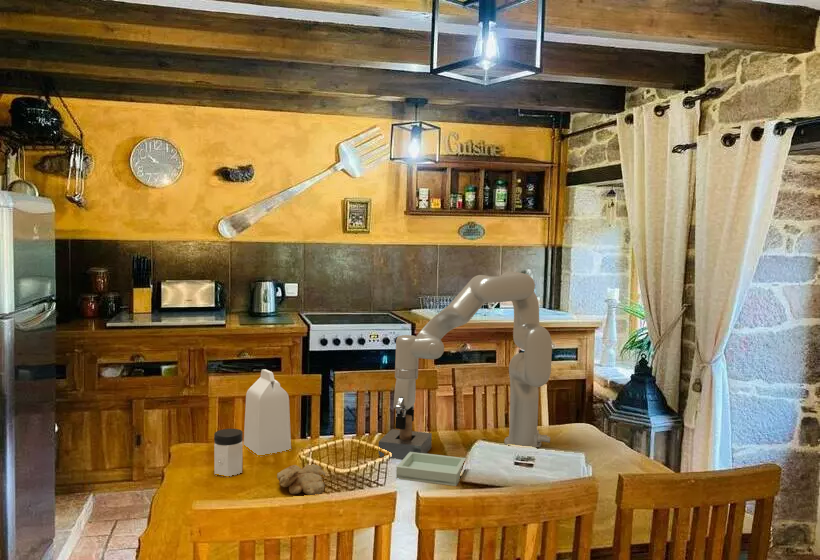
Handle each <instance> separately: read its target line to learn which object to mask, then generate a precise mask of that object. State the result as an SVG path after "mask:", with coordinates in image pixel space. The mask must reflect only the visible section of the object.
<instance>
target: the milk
mask: <svg viewBox="0 0 820 560" xmlns="http://www.w3.org/2000/svg"><path fill="white" fill-rule="evenodd" d="M244 409H245V410H244V411H245V413H244V425H243V426H244V431H243V446H244V445H245V446H246V447H248V448H249V449H250V450H252V451H253V452H254V453H256V454H257V455H265V454H270V453H271V454H270V455H273V454H272V453H275V454H278V453H277V452H280V453H283V452H282V451H285V452H287V451H286V450H289V449H291V450H292V440H291V438H292V436H291V418H290V417H291V414H290V413H291V412H290V396H289V393H288V392H287V391H286V390H285V389H284V388H283V387H282V386H281V383H280V382H279V381H278V380H276V379H275V375H274V372H272V370H271V371H270V370H268V369H266V368H265V369H261V371H260V377H259V378H257V380H256V381H255V382H254V383H253V384H252V385H251V386H250V387H249V388H248V389H247V391H246V393H245V408H244ZM289 451H290V450H289ZM254 453H253V454H254ZM265 456H266V455H265Z"/></svg>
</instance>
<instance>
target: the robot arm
mask: <svg viewBox="0 0 820 560" xmlns="http://www.w3.org/2000/svg"><path fill="white" fill-rule="evenodd" d="M535 289H536V283H535V281H534V279H533V277H532V276H530V275H529V274H527V273H525V272H524V273H523V272H520V271H519V272H518V271H511V270H510V271H505V272H503V273H502V274H501V275H500V276H497V275H496V276H490V275H486V274H485V275H484V274H478V275H477V274H476V275H475V276H474V277H472V278H471V279H470V280H469V281H468V282H467V283H466V284H465V286H464V287H463V288H462V289H461V290H460V291H459V293H458V294H457V295H456V296H455V297H454V298H453V300H452V301H451V302H450V303H449V304H448V305H446V307H444V308H442V309H441V311H440V312H438V313H437V314H436V315H434V316H433V317H432V318H431V319H430V320H429V321H428V322H427V323H426V324H425V325H424V326H423V328H422V329H421V330H420V331H419V332H418V333H417V335H411V334H404V335H403V334H402V335H398V336H397V338H396V340H395V359H394V360H395V362H394V364H395V365H394V378H395V379H396V380H395V385H394V394H393V395H394V396H393V409H394V410H395V428H394V429H396V430H400V429H402V430H404V429H405V426H406V417H405V415H411V416H412V423H413V422H414V420H415V417H414V416H415V403H416V391H417V390H416V387H417V386H416V382H417V381H416V380H418V379H419V359H425V360H436V359H439V358H441V357H442V355H444V352H445V345H444V343H443V341H442V339H443V338H444V336H446V334H448V333H449V332H450V331H452V330H454V329H456V328H458V327H461V326H464V325H465V324H467V323H469V321H470V320H471V319H472V318H473V317H474V315H476V314H477V312H478V311H479V310H480V309H481V308H482V306H483V305H484V304H485V303H489V304H492V303H493V304H494V303H504V302H506V303H507V302H511V304H512V307H513V330H512V331H513V333H512V336H513V337H512V338H513V342H514V344H515V345H516V347H518V348H520V349H522V350H523V352H518V353H516V354H514V355H513V356H512V358H511V359H510V361H509V364H508V373H509V375H508V376H509V383H510V384H509V386H510V387H509V388H510V389H509V390H510V391H509V392H510V394H509V397H510V399H509V426H508V427H509V431H508V436H506V437H505V438H504V444H505V445H506V444H515V445H522V446H532V447H539V448H541V447H542V443H543V442H544V443H549V444H551V436H548V434H541V433H540V432H539V431H540V430H539V429H538V420H539V419H538V417H539V388H540V387H543V386H545V385H546V384H547V382H549V379H550V378H551V377H550V376H551V373H552V358H553V357H552V355H553V351H552V350H553V341H552V336H551V334H550V332H549V330H547V328H545V327H544V326H541V325H540V304H539V299H538V296H537V294H536V292H535Z"/></svg>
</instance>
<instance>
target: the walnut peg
mask: <svg viewBox="0 0 820 560" xmlns="http://www.w3.org/2000/svg"><path fill="white" fill-rule="evenodd" d="M405 417H406V426H405V429H404V430H402V429H399V430H400V439H401V440H410V441H412V431H413V422H412V416H411V415H405Z"/></svg>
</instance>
